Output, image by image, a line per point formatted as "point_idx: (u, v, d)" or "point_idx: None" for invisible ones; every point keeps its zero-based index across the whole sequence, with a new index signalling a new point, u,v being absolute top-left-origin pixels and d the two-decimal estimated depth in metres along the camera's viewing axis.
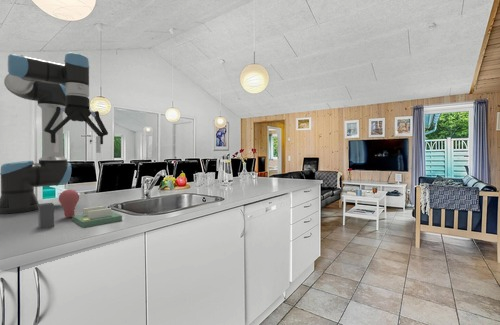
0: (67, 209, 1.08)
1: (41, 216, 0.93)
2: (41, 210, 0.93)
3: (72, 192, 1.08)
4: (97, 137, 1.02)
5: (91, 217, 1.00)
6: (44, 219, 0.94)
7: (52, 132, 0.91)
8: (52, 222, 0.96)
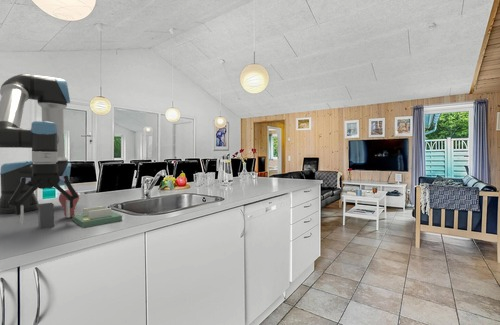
0: None
1: (41, 216, 0.93)
2: (41, 210, 0.93)
3: None
4: (66, 201, 1.00)
5: (91, 217, 1.00)
6: (44, 219, 0.94)
7: (17, 204, 0.89)
8: (52, 222, 0.96)
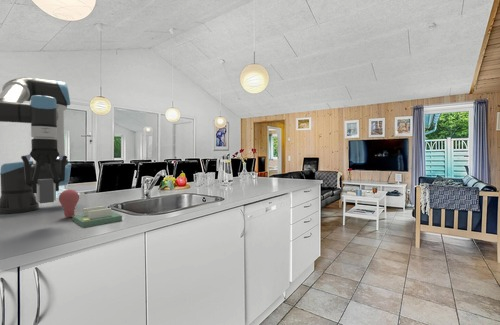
0: (67, 209, 1.08)
1: (41, 191, 0.93)
2: (41, 185, 0.93)
3: (72, 192, 1.08)
4: None
5: (91, 217, 1.00)
6: (43, 194, 0.94)
7: (33, 183, 0.93)
8: (52, 197, 0.96)
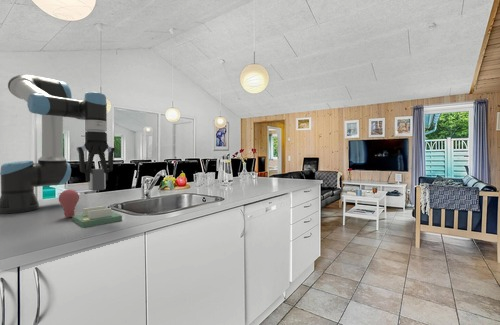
0: (67, 209, 1.08)
1: (94, 179, 1.02)
2: (94, 173, 1.02)
3: (72, 192, 1.08)
4: None
5: (91, 217, 1.00)
6: (96, 182, 1.02)
7: (87, 172, 1.01)
8: (103, 185, 1.04)
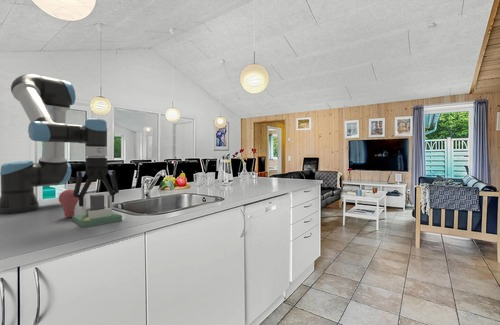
0: (67, 209, 1.08)
1: (94, 206, 1.02)
2: (94, 200, 1.02)
3: (72, 192, 1.08)
4: (109, 196, 1.08)
5: (91, 217, 1.00)
6: (96, 209, 1.03)
7: (80, 197, 1.00)
8: None
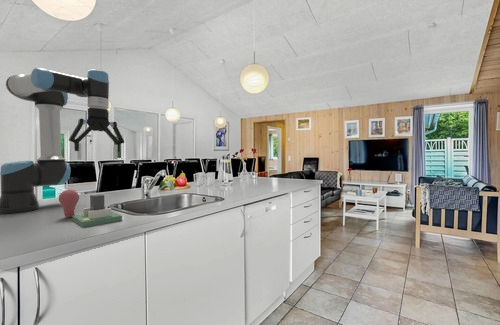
0: (67, 209, 1.08)
1: (94, 206, 1.02)
2: (94, 200, 1.02)
3: (72, 192, 1.08)
4: (114, 145, 1.12)
5: (91, 217, 1.00)
6: (96, 209, 1.03)
7: (76, 141, 1.01)
8: None
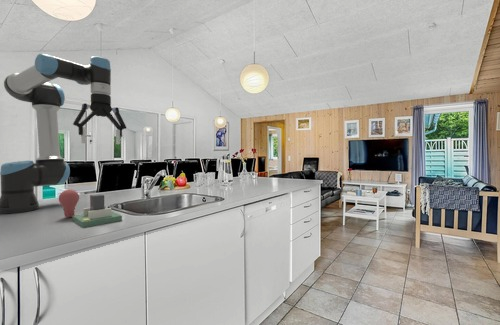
0: (67, 209, 1.08)
1: (94, 206, 1.02)
2: (94, 200, 1.02)
3: (72, 192, 1.08)
4: (117, 130, 1.16)
5: (91, 217, 1.00)
6: (96, 209, 1.03)
7: (80, 125, 1.05)
8: None
